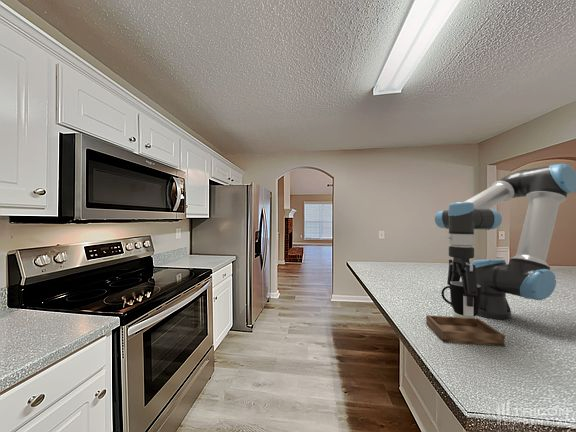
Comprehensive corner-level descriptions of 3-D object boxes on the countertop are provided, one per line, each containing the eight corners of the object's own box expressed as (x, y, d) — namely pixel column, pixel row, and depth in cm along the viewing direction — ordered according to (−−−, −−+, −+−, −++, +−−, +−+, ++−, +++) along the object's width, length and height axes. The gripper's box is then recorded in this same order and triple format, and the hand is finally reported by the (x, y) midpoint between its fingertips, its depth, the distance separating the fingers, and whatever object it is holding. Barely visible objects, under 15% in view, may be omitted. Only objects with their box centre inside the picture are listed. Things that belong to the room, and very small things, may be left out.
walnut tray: (478, 327, 97) (478, 318, 97) (504, 346, 82) (504, 335, 83) (426, 323, 100) (426, 315, 100) (442, 341, 85) (442, 331, 85)
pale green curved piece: (469, 320, 105) (469, 310, 105) (479, 327, 98) (479, 316, 98) (450, 319, 106) (450, 309, 106) (458, 326, 99) (458, 315, 99)
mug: (484, 314, 90) (484, 284, 91) (476, 320, 85) (476, 288, 85) (446, 305, 100) (446, 278, 100) (436, 310, 94) (436, 281, 94)
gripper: (437, 243, 103) (437, 301, 103) (464, 248, 82) (465, 321, 81) (458, 244, 102) (458, 302, 102) (491, 249, 81) (492, 323, 80)
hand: (461, 310), depth 91 cm, fingers closed on mug, 9 cm apart
